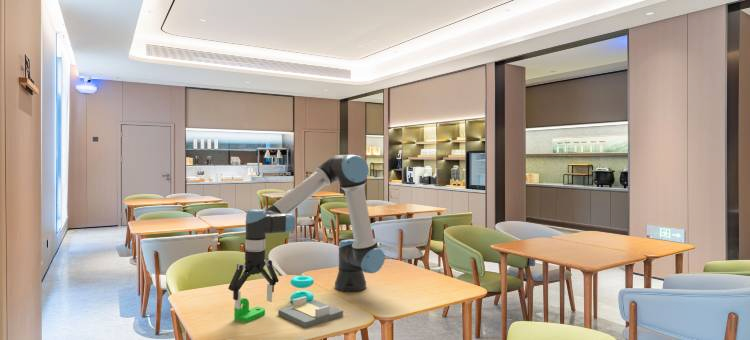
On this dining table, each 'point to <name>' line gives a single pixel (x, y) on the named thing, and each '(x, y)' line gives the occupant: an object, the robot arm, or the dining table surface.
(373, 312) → the dining table surface
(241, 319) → the mechanical part
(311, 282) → the donuts
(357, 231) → the robot arm
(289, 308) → the grey square plate
